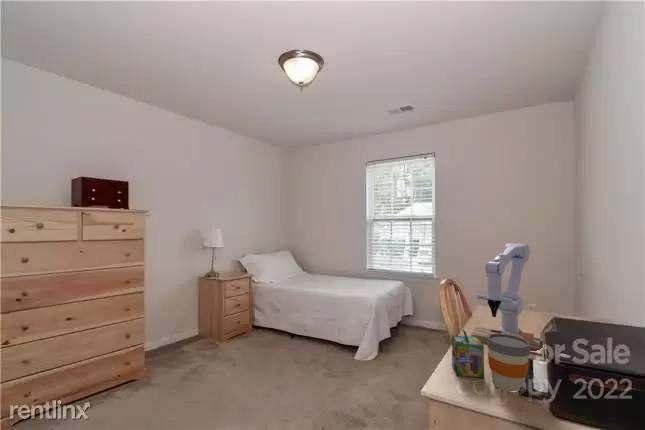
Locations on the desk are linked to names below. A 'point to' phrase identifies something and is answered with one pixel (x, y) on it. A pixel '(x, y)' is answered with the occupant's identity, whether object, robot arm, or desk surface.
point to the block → (528, 336)
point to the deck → (485, 332)
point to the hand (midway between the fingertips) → (494, 316)
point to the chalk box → (467, 356)
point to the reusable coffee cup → (508, 361)
